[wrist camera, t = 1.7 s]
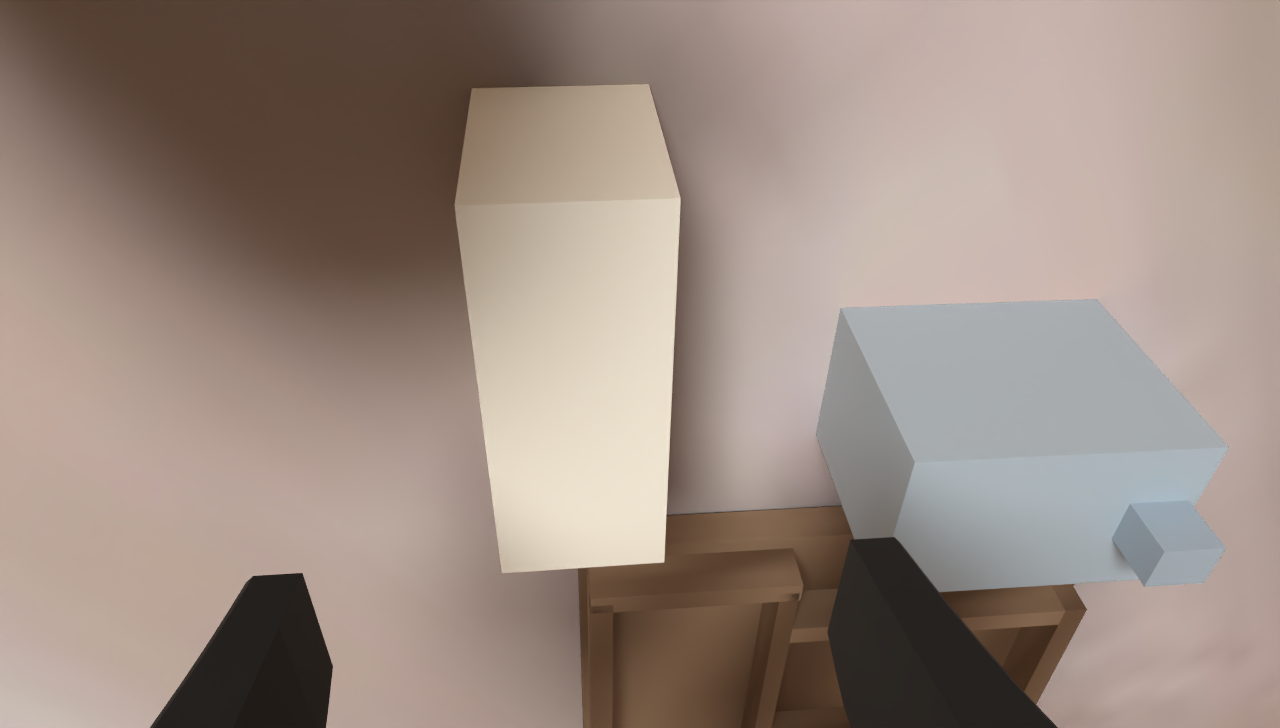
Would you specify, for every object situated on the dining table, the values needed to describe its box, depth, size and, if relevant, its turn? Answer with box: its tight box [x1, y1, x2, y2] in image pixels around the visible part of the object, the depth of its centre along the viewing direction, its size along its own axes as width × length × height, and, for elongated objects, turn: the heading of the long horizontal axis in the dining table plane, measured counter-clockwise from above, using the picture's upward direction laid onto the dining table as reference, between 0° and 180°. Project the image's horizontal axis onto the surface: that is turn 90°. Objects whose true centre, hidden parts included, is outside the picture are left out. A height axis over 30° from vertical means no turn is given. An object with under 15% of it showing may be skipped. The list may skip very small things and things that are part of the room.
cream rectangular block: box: [454, 84, 681, 573], centre depth 17 cm, size 3×8×5 cm, turn 0°
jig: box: [578, 506, 1087, 728], centre depth 26 cm, size 14×11×2 cm
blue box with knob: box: [816, 299, 1229, 592], centre depth 19 cm, size 6×4×6 cm, turn 89°
